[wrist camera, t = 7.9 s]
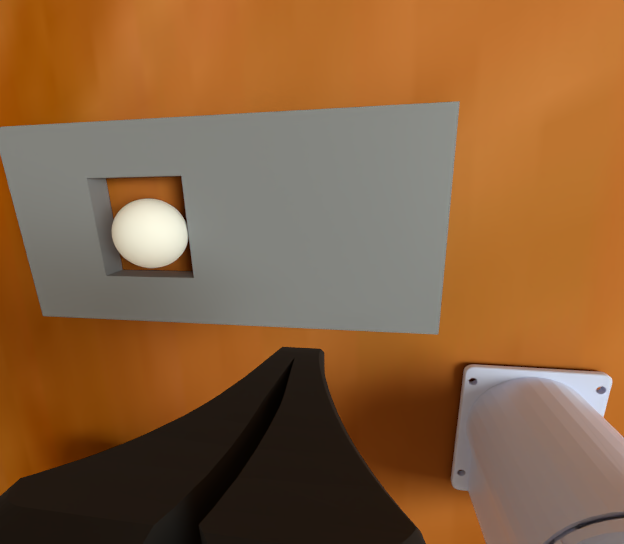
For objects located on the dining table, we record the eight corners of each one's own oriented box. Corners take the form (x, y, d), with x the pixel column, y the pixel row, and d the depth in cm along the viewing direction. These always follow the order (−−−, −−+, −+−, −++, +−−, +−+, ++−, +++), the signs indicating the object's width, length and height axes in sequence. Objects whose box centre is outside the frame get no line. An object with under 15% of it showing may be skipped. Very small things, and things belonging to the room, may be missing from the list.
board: (432, 323, 20) (438, 334, 18) (62, 307, 24) (42, 316, 22) (451, 108, 17) (459, 101, 15) (19, 130, 21) (-7, 127, 19)
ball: (123, 258, 21) (189, 249, 22) (118, 284, 17) (196, 272, 19) (107, 194, 19) (180, 190, 20) (98, 211, 16) (186, 204, 17)
